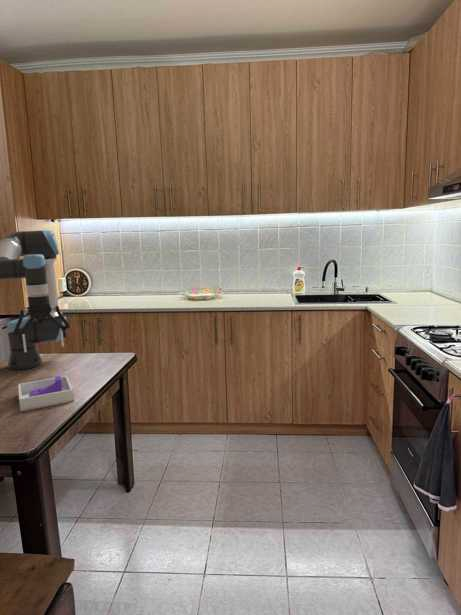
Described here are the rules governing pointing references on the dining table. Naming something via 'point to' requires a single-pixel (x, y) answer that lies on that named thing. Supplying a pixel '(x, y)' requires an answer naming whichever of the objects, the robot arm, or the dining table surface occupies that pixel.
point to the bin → (44, 399)
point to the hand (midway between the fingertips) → (44, 348)
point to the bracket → (48, 388)
